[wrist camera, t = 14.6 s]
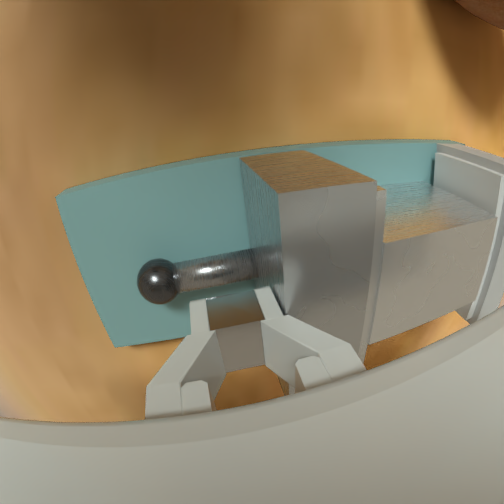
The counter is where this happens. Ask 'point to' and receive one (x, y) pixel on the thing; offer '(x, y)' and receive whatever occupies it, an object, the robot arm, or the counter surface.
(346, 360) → the robot arm
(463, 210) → the block
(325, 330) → the jaw
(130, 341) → the vise
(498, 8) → the onion
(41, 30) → the counter surface
